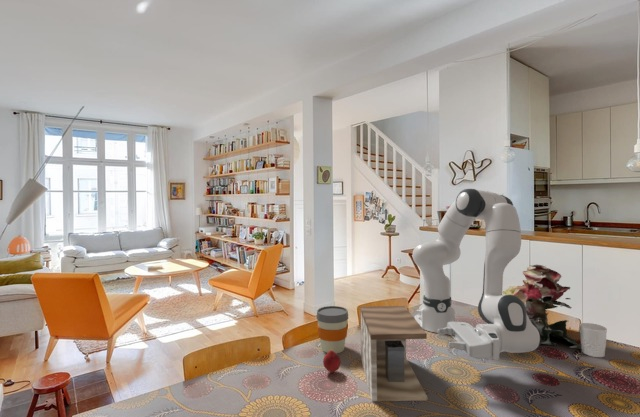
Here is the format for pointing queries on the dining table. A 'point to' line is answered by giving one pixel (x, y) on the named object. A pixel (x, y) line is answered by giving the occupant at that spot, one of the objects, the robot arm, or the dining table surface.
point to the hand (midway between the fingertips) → (442, 337)
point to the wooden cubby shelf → (374, 333)
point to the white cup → (593, 339)
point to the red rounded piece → (331, 361)
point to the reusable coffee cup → (332, 328)
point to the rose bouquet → (542, 301)
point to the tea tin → (394, 361)
